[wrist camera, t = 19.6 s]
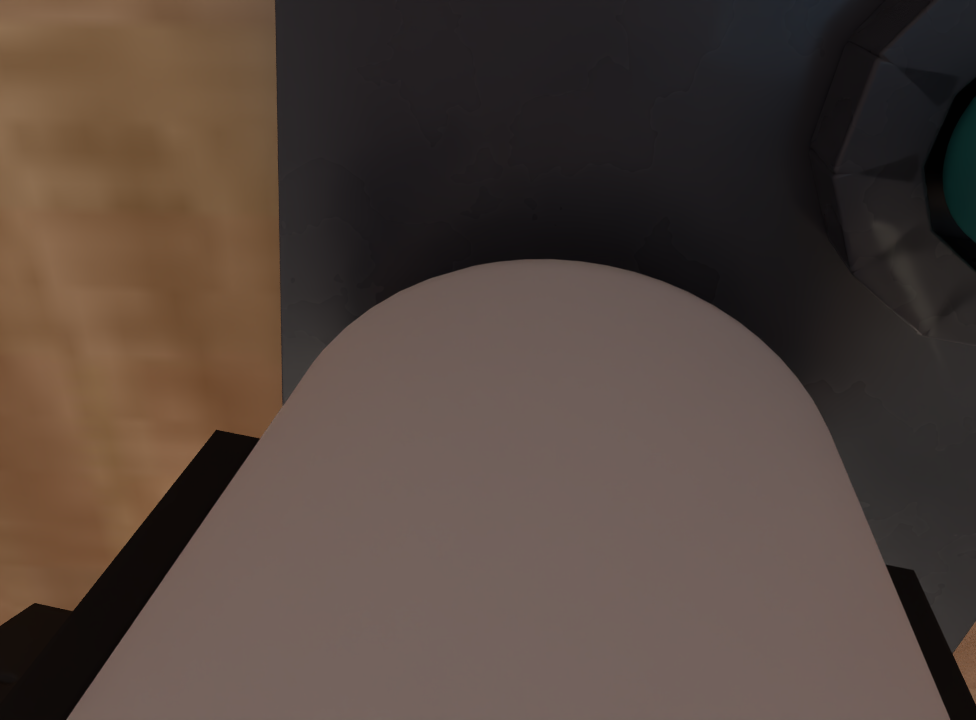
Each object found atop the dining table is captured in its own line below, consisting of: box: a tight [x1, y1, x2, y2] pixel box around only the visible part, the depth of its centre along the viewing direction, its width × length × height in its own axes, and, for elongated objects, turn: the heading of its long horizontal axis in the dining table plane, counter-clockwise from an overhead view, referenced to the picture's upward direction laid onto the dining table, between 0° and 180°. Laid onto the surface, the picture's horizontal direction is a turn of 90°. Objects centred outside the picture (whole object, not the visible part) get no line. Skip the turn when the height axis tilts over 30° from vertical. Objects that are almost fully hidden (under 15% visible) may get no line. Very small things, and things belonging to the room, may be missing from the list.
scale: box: [275, 0, 976, 654], centre depth 14 cm, size 16×16×3 cm
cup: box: [66, 259, 950, 720], centre depth 10 cm, size 10×10×10 cm
